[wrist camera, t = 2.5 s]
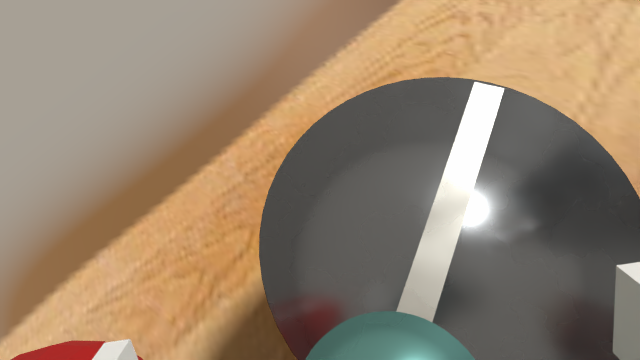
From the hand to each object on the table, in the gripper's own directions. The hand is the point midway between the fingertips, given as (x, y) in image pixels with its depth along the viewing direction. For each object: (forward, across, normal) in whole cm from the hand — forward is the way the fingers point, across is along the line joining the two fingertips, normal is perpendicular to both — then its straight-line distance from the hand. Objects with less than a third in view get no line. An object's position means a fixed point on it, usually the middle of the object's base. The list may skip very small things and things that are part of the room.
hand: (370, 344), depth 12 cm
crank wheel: (+12, +4, -5) cm, 13 cm away
